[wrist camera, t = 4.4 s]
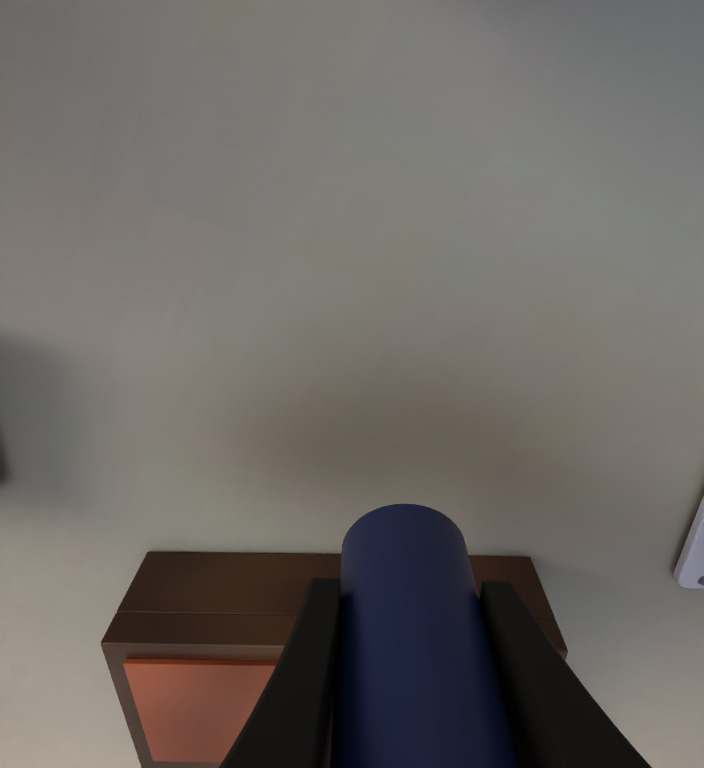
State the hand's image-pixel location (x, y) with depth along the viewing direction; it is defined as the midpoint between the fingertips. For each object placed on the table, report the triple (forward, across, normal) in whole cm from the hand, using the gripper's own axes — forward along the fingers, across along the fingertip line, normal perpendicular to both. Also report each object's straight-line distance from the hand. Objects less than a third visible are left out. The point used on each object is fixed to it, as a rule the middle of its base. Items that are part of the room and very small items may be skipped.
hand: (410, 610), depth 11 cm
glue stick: (+2, 0, 0) cm, 2 cm away
